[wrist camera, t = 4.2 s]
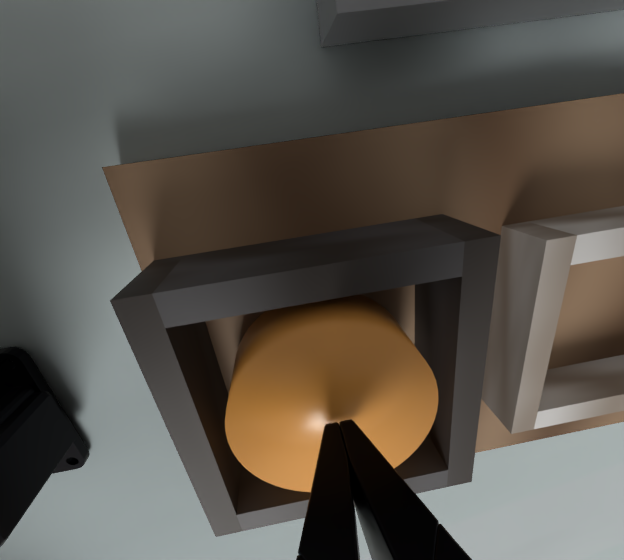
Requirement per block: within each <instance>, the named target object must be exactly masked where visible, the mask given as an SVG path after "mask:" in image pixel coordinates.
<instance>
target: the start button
mask: <svg viewBox="0 0 624 560" xmlns="http://www.w3.org/2000/svg"><path fill="white" fill-rule="evenodd" d="M437 408H438V387H437V383H436V379H435V377H434V374H433V372H432V370H431V368H430V367H429V365H428V363H427V362H426V360H425V359H424V358H423V356H422V355H421V354H420V352H419V351H418V350H417V348H416V347H415V345H414V344H413V343H412V341H411V340H410V339H409V337H408V336H407V335H406V333H405V332H404V331H403V329H402V328H401V326H400V325H399V324H398V322H397V321H396V320H395V318H394V317H393V316H392V315H391V314H390V313H389V312H388V311H387V310H386V309H385V308H384V307H382V306H381V305H380V304H378V303H377V302H375V301H373V300H372V299H370V298H367V297H365V296H363V295H360V294H359V295H353V296H347V297H342V298H336V299H330V300H324V301H319V302H313V303H307V304H302V305H296V306H290V307H284V308H279V309H273V310H267V311H265V312H264V313H263V314H262V315H260V316H259V317H258V318H257V319H256V320H255V321H254V322H253V324H252V325H251V326H250V327H249V328H248V330H247V331H246V333H245V334H244V336H243V338H242V340H241V342H240V344H239V347H238V350H237V353H236V357H235V363H234V369H233V374H232V380H231V385H230V391H229V397H228V402H227V408H226V415H225V432H226V436H227V440H228V443H229V446H230V448H231V450H232V452H233V454H234V455H235V457H236V458H237V460H238V461H239V462H240V463H241V464H242V465H243V466H244V467H245V468H246V469H247V470H248V471H249V472H251V473H252V474H253V475H255V476H256V477H258V478H260V479H261V480H263V481H265V482H268V483H270V484H272V485H275V486H278V487H281V488H284V489H289V490H294V491H302V492H311V488H312V483H313V478H314V474H315V469H316V464H317V459H318V454H319V449H320V445H321V440H322V435H323V430H324V426H325V425H326V424H329V423H334V422H337V423H339V422H340V421H344V420H349V419H352V420H353V421H354V422H355V423H356V424H357V425H358V426H359V428H360V429H361V430H362V431H363V432H364V433H365V435H366V436H367V437H368V438H369V439H370V441H371V442H372V443H373V444H374V445H375V447H376V448H377V449H378V450H379V451H380V452H381V454H382V455H383V456H384V457H385V458H386V460H387V461H388V462H389V463H390V464H391V466H392V467H393V468H396V467H397V466H399V465H400V464H401V463H402V462H404V461H405V460H406V459H407V458H408V457H410V456H411V455H412V454H413V453H414V452H415V450H416V449H417V448H418V447H419V446H420V445H421V443H422V442H423V441H424V439H425V438H426V436H427V435H428V433H429V431H430V429H431V427H432V425H433V423H434V420H435V417H436V413H437Z"/></svg>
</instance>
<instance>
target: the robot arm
mask: <svg viewBox="0 0 624 560" xmlns="http://www.w3.org/2000/svg"><path fill="white" fill-rule="evenodd" d="M10 359H11V360H13V361H14V362H12V361H11V360H10ZM88 457H89V451H88V449H87V448H86V446H85V444H84V443H83V441H82V440H81V438H80V436H79V435H78V433H77V431H76V430H75V428H74V427H73V425H72V423H71V422H70V420H69V419H68V417H67V415H66V414H65V412H64V410H63V409H62V407H61V406H60V404H59V402H58V401H57V399H56V397H55V396H54V394H53V393H52V391H51V389H50V388H49V386H48V384H47V383H46V381H45V380H44V378H43V376H42V375H41V373H40V372H39V370H38V368H37V367H36V365H35V363H34V362H33V360H32V359H31V357H30V355H29V354H28V353H27V352H26V351H24V350H23V349H21V348H17V347H8V348H2V349H0V547H1V546H2V545H3V544H4V542H5V541H6V540H7V538H8V537H9V535H10V534H11V532H12V531H13V529H14V528H15V526H16V525H17V524H18V522H19V521H20V519H21V518H22V516H23V515H24V513H25V512H26V510H27V509H28V508H29V506H30V505H31V503H32V502H33V500H34V499H35V497H36V496H37V494H38V493H39V491H40V490H41V489H42V487H43V486H44V484H45V483H46V481H47V480H48V478H49V477H50V475H51V474H52V473H57V472H63V471H68V470H73V469H77V468H80V467H82V466H83V465H84V464H85V462H86V460H87V459H88ZM354 504H355V508H356V511H357V515H358V518H359V521H360V524H361V527H362V530H363V533H364V536H365V539H366V542H367V545H368V549H369V552H370V555H371V558H372V560H472V559H471V558H470V557H469V556H468V555H467V553H466V552H465V551H464V550H463V549H462V548H461V547H460V546H459V544H458V543H457V542H456V541H455V540H454V539H453V538H452V536H451V535H450V534H449V533H448V532H447V530H446V529H445V528H444V527H443V526H442V525H441V524H439V522H438V520H437V519H436V518H435V516H434V515H433V514H432V513H431V512H430V511H429V509H428V508H427V507H426V506H425V505H424V503H423V502H422V501H421V500H420V499H419V498H418V496H417V495H416V494H415V493H414V492H413V490H412V489H411V488H410V487H409V486H408V484H407V483H406V482H405V481H404V480H403V479H402V477H401V476H400V475H399V474H398V473H397V471H396V470H395V469H394V468H393V467H392V466H391V464H390V463H389V462H388V461H387V460H386V458H385V457H384V456H383V455H382V454H381V452H380V451H379V450H378V449H377V448H376V447H375V445H374V444H373V443H372V442H371V441H370V439H369V438H368V437H367V436H366V435H365V433H364V432H363V431H362V430H361V429H360V428H359V426H358V425H357V424H356V423H355V422H354V421H353V420H352V419H349V420H344V421H340V422H339V423H337V422H334V423H329V424H326V425H325V426H324V430H323V435H322V440H321V445H320V449H319V454H318V459H317V464H316V469H315V474H314V478H313V483H312V488H311V493H310V498H309V502H308V507H307V512H306V517H305V522H304V526H303V531H302V536H301V541H300V546H299V550H298V554H299V555H298V556H297V559H296V560H360V554H359V545H358V535H357V526H356V516H355V508H354ZM438 524H439V525H438Z"/></svg>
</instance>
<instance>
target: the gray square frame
mask: <svg viewBox="0 0 624 560" xmlns="http://www.w3.org/2000/svg"><path fill="white" fill-rule="evenodd" d="M317 10H318V20H319V30H320V41H321V47H328V46H336V45H344V44H352V43H360V42H368V41H376V40H384V39H392V38H400V37H408V36H416V35H424V34H432V33H440V32H448V31H456V30H464V29H472V28H480V27H488V26H496V25H504V24H512V23H520V22H528V21H536V20H544V19H552V18H560V17H568V16H576V15H584V14H592V13H600V12H609V11H617V10H624V0H317Z"/></svg>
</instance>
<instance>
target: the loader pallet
mask: <svg viewBox="0 0 624 560" xmlns="http://www.w3.org/2000/svg"><path fill="white" fill-rule="evenodd" d="M102 169H103V171H104V174H105V176H106V179H107V182H108V184H109V187H110V189H111V192H112V195H113V197H114V200H115V202H116V205H117V208H118V210H119V213H120V215H121V218H122V221H123V223H124V226H125V228H126V231H127V234H128V236H129V239H130V242H131V244H132V247H133V249H134V252H135V255H136V257H137V260H138V262H139V265H140V268H141V270H142V272H141V273H140V274H139V275H138V276H136V277H135V278H134V279H133V280H132V281H131V282H130V283H129V284H128V285H127V286H126V287H124V288H123V289H122V290H121V291H120V292H119V293H118V294H117V295H116V296H115V297H114V298H112V299H111V300H110V302H111V304H112V306H113V308H114V311H115V313H116V315H117V317H118V319H119V322H120V324H121V326H122V328H123V331H124V333H125V335H126V337H127V340H128V342H129V344H130V346H131V349H132V351H133V353H134V355H135V357H136V360H137V362H138V364H139V366H140V369H141V371H142V373H143V375H144V378H145V380H146V382H147V384H148V387H149V389H150V391H151V393H152V395H153V398H154V400H155V402H156V404H157V407H158V409H159V411H160V413H161V416H162V418H163V420H164V422H165V424H166V427H167V429H168V431H169V433H170V436H171V438H172V440H173V442H174V445H175V447H176V449H177V451H178V454H179V456H180V458H181V460H182V462H183V465H184V467H185V469H186V471H187V474H188V476H189V478H190V480H191V483H192V485H193V487H194V489H195V491H196V494H197V496H198V498H199V500H200V503H201V505H202V507H203V509H204V512H205V514H206V516H207V518H208V521H209V523H210V525H211V527H212V529H213V532H214V534H215V536H216V537H217V536H222V535H227V534H231V533H236V532H240V531H245V530H250V529H254V528H259V527H264V526H268V525H273V524H277V523H282V522H287V521H291V520H296V519H301V518H305V517H306V512H307V507H308V502H309V498H310V493H311V492H302V491H294V490H289V489H284V488H281V487H278V486H275V485H272V484H270V483H268V482H265V481H263V480H261V479H260V478H258V477H256V476H255V475H253V474H252V473H251V472H249V471H248V470H247V469H246V468H245V467H244V466H243V465H242V464H241V463H240V462H239V461H238V460H237V458H236V457H235V455H234V454H233V452H232V450H231V448H230V446H229V443H228V440H227V436H226V432H225V415H226V408H227V402H228V397H229V391H230V385H231V380H232V374H233V369H234V363H235V357H236V353H237V350H238V347H239V344H240V342H241V340H242V338H243V336H244V334H245V333H246V331H247V330H248V328H249V327H250V326H251V325H252V324H253V322H254V321H255V320H256V319H257V318H258V317H259V316H260V315H262V314H263V313H264V312H265V311H267V310H273V309H279V308H284V307H290V306H296V305H302V304H307V303H313V302H319V301H324V300H330V299H336V298H342V297H347V296H353V295H359V294H360V295H363V296H365V297H367V298H370V299H372V300H373V301H375V302H377V303H378V304H380V305H381V306H382V307H384V308H385V309H386V310H387V311H388V312H389V313H390V314H391V315H392V316H393V317H394V318H395V320H396V321H397V322H398V324H399V325H400V326H401V328H402V329H403V331H404V332H405V333H406V335H407V336H408V337H409V339H410V340H411V341H412V343H413V344H414V345H415V347H416V348H417V350H418V351H419V352H420V354H421V355H422V356H423V358H424V359H425V360H426V362H427V363H428V365H429V367H430V368H431V370H432V372H433V374H434V377H435V379H436V383H437V387H438V408H437V413H436V417H435V420H434V423H433V425H432V427H431V429H430V431H429V433H428V435H427V436H426V438H425V439H424V441H423V442H422V443H421V445H420V446H419V447H418V448H417V449H416V450H415V452H414V453H413V454H412V455H411V456H410V457H408V458H407V459H406V460H405V461H404V462H402V463H401V464H400V465H399V466H397V467H396V468H394V469H395V470H396V471H397V473H398V474H399V475H400V476H401V477H402V479H403V480H404V481H405V482H406V483H407V484H408V486H409V487H410V488H411V489H412V490H413V492H414V493H415V494H416V493H421V492H426V491H430V490H435V489H440V488H444V487H449V486H453V485H458V484H463V483H467V482H471V481H472V473H473V464H474V456H475V453H476V452H481V451H486V450H491V449H495V448H500V447H505V446H510V445H514V444H519V443H524V442H529V441H533V440H538V439H543V438H548V437H552V436H557V435H562V434H567V433H571V432H576V431H581V430H586V429H591V428H595V427H600V426H605V425H610V424H614V423H619V422H624V93H622V94H615V95H608V96H601V97H594V98H587V99H580V100H573V101H566V102H559V103H552V104H545V105H538V106H531V107H524V108H517V109H510V110H503V111H495V112H488V113H481V114H474V115H467V116H460V117H453V118H446V119H439V120H432V121H425V122H418V123H411V124H404V125H397V126H390V127H383V128H376V129H369V130H362V131H355V132H348V133H341V134H333V135H326V136H319V137H312V138H305V139H298V140H291V141H284V142H277V143H270V144H263V145H256V146H249V147H242V148H235V149H228V150H221V151H214V152H207V153H200V154H193V155H186V156H179V157H171V158H164V159H157V160H150V161H143V162H136V163H129V164H122V165H115V166H108V167H102ZM354 507H355V504H354Z"/></svg>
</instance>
